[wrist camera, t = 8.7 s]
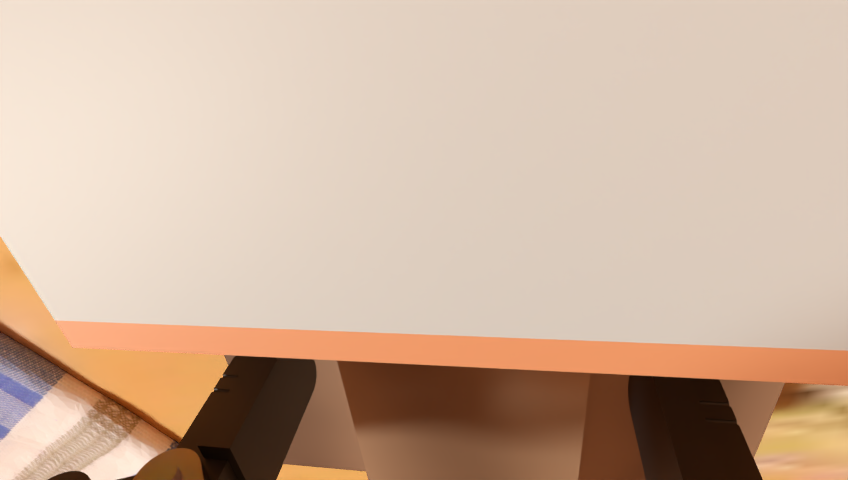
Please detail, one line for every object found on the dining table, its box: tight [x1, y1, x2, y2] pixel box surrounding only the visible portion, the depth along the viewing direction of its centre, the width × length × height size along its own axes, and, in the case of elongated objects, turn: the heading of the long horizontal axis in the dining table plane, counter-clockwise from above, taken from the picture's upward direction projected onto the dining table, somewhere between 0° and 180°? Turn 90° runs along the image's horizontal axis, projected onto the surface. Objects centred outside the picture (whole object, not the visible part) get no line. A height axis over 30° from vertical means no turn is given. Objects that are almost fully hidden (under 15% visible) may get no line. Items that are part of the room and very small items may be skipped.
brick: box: [0, 0, 848, 386], centre depth 7 cm, size 10×6×6 cm
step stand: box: [224, 355, 785, 480], centre depth 12 cm, size 16×20×7 cm
